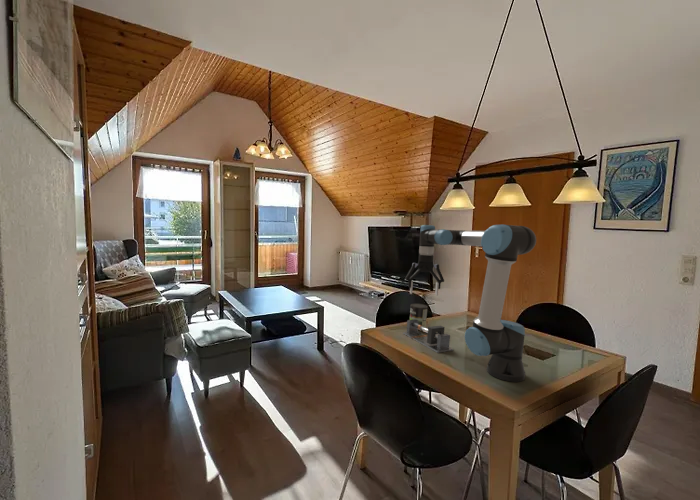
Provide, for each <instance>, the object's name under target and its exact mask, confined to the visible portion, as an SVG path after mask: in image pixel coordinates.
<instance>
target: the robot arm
mask: <svg viewBox="0 0 700 500" xmlns="http://www.w3.org/2000/svg"><path fill="white" fill-rule="evenodd" d="M536 244H537V236H536V234H535V232H534V231H533V230H532V228H529V227H527V226H525V225H512V224H493V225H491V226H489V227H488V228H487V229H486V230H463V229H462V230H457V229H444V228H443V229H439V228H438V229H436V226H435V225H432V224H431V225H430V224H429V225H428V224H423V225H420V231H419V245H418V246H419V249H418V262H417V263H416V262H412V264H411V267H410V269H409V270H408V272H407V274H406V276H405V280H406V281H408V284H407V285H408V289H409V294H410V295H413V288H414V287H413V286H414V285H413V284H414V282H413V280H414V279H416V278H417V276H418V275H419V274H420V273H430V274H431V275H432V277H434V279H435V280H436V282H435V289H434V290H435V292H434V293H435V294H434V295H435V296H439V290H440V289H441V283H444V282H445V278H444V276H443V274H442V272H441V269H440V265H439V263H436V264H434V252H435V245H438V246H439V245H440V246H448V245H449V246H450V245H451V246H453V245H454V246H469V247H481V248H482V250H483V252H484V253H485V255H484V257H485V259H486V260H487V265H486V271H485V277H484V282H483V288H482V293H481V298H480V305H479V309H478V315H477V316H476V317H475V318H473V322H472V326H469V327H468V328H466V329H465V332H464V341H465V344H466V345H467V348H468V350H469V351H470V352H471V353H472V354H473V355H475V356H478V357H482V356H483V357H486V356H489V355H491V356H490V358H489V360H488V363H487V365H486V371H487V372H486V373H488V374H490V375H491V376H492V377H494V378H496V379H500V380H501V381H502V380H503V381H505V382H514V383H517V382H523V381H524V380H525V379H526V370H525V367H524V362H523V355H524V353H523V352H524V344H525V343H524V342H525V337H526V334H525V333H526V332H525V330H526V329H525V326H524V325H522V324H520V323H518V322H516V321H511V320H505V319H502V314H503V311H504V305H505V300H506V294H507V289H508V284H509V279H510V273H511V269H512V265H513V264H515V263H516V262H517V261H518V255H525V254H528V253H530V252H531V251H532V250H533V249H534V248H535V246H536ZM417 267H418V269H417V270H416V271H415V272H414V270H415V269H416V268H417ZM433 268H435V270H436V273H437V275H438V276H437V275H436V273H435V272H434V270H433ZM413 272H414V273H413ZM412 273H413V274H412Z"/></svg>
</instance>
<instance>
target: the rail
mask: <svg viewBox="0 0 700 500" xmlns="http://www.w3.org/2000/svg"><path fill="white" fill-rule="evenodd" d="M418 329H419V330H422V332H421V331H418ZM423 332H424V333H426V334H424V333H423ZM402 334H403V335H404V334H405V335H404V336H406V335H407V337H409V339H412V340H413V339H414V341H415V340H416V342H417V343H419V344H421V345H423V346H424V347H426V348H428V349H429V350H432V351H433V352H435V353H437V354H440V353H447V352H452V351H454V349H453V348H452V347H450V343H451V342H450V341H451V335H450V334H449V333H444V334H438V333H437V332H435V334H434V338H437V344H432V345H430V344H429V343H427V335H428V327H426V328H425V327H423V326H422V325H420V324H418V320H416V319H414V320H410V319H407V322H406V331H403V332H402Z"/></svg>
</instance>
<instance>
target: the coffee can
mask: <svg viewBox="0 0 700 500" xmlns="http://www.w3.org/2000/svg"><path fill="white" fill-rule="evenodd" d="M409 309H410V311H409V313H410V314H409V320H414V319H416V320H418V324H420V325H422V326H423V327H425V328H427V320H428V319H427V318H428V317H427V316H428V305H426V304H423V303H411V304H410V307H409ZM418 330H419V329H418ZM421 331H422V330H420V331H419V332H421ZM422 332H423V331H422Z"/></svg>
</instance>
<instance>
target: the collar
mask: <svg viewBox="0 0 700 500" xmlns="http://www.w3.org/2000/svg"><path fill="white" fill-rule="evenodd" d="M427 328H428V333H427V334H426V335H427V343H429V344H430V345H432V344H437V338H436V337H434V334H435V332H436V333H438V334H445V326H442V325H433V326H428V327H427Z"/></svg>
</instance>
